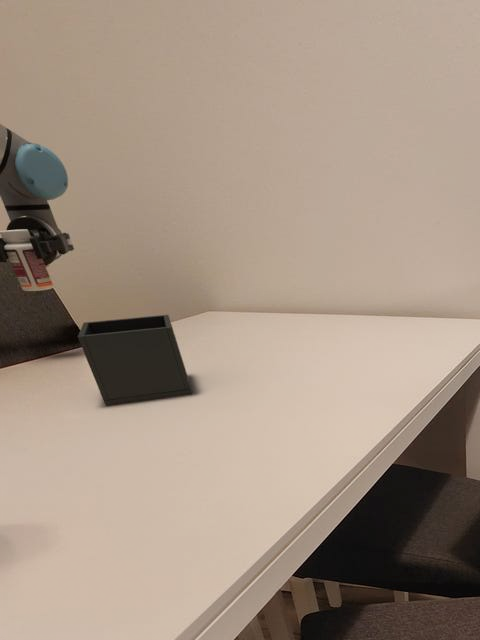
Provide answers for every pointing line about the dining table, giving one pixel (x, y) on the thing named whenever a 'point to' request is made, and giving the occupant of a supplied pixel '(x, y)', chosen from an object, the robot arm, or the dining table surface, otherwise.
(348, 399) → the dining table surface
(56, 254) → the robot arm
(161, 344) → the trash bin
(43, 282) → the pill bottle
